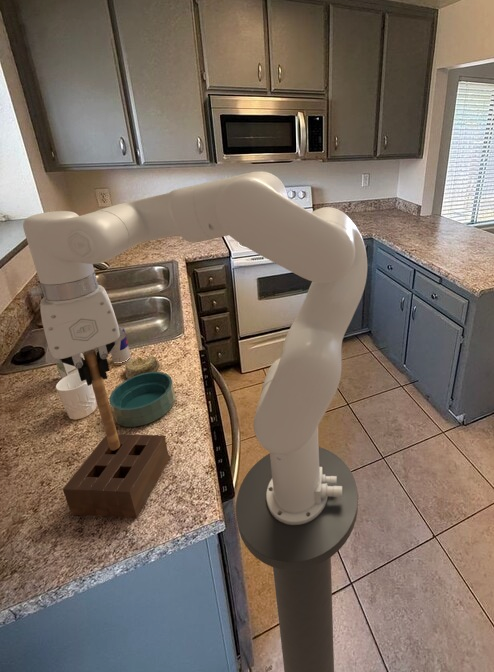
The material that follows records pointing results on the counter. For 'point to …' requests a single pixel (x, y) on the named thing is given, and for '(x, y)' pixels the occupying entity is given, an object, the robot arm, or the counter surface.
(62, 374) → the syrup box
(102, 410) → the stick
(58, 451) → the counter surface
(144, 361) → the tan textured clump
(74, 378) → the white cup
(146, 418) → the bowl
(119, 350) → the energy drink
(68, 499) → the holder
